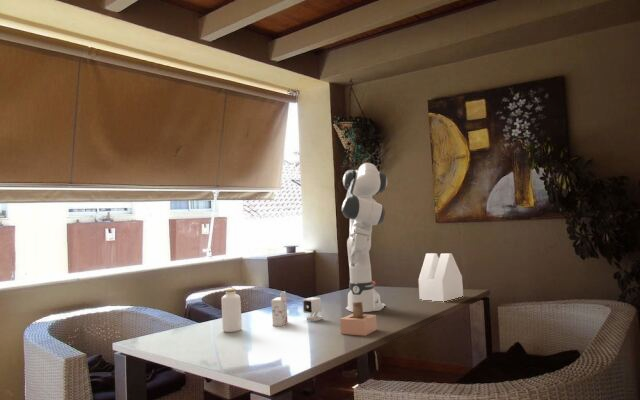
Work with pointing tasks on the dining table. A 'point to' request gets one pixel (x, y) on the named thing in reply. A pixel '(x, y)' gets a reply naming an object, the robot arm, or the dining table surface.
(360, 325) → the socket block
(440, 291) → the white notched block
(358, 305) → the dowel
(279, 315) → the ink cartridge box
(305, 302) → the security camera
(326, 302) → the dining table surface
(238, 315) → the potion bottle
